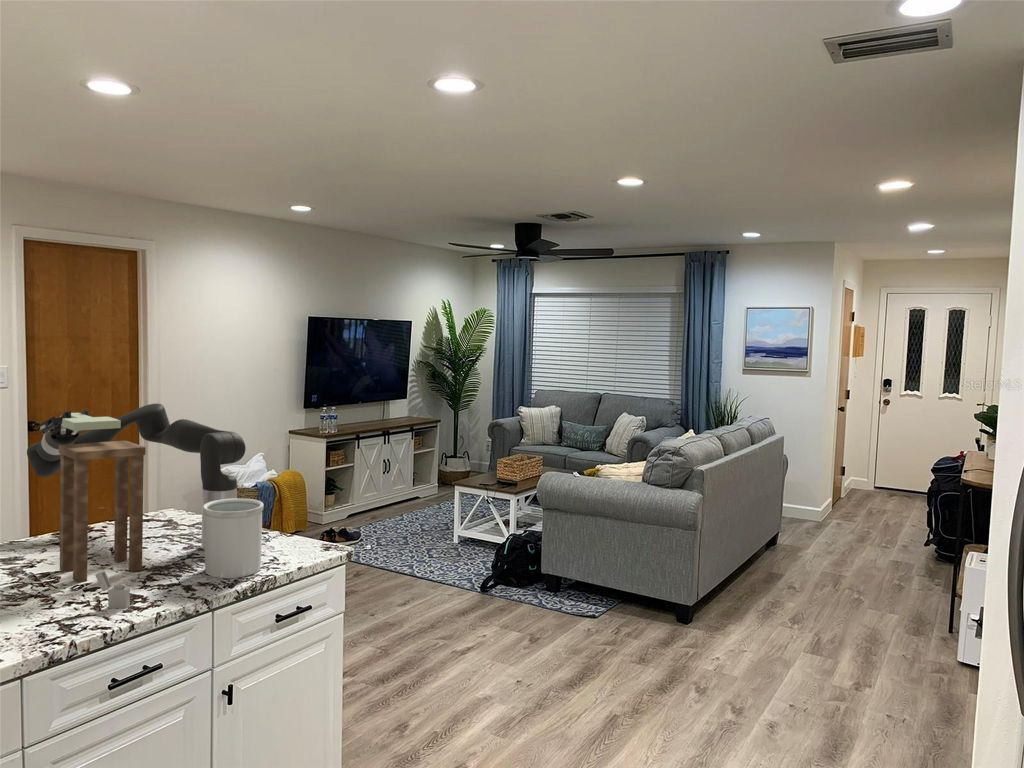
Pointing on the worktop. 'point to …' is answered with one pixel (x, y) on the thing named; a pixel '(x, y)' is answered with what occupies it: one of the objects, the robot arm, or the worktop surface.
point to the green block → (89, 422)
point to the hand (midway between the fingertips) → (77, 413)
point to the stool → (77, 503)
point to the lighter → (114, 592)
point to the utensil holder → (232, 537)
